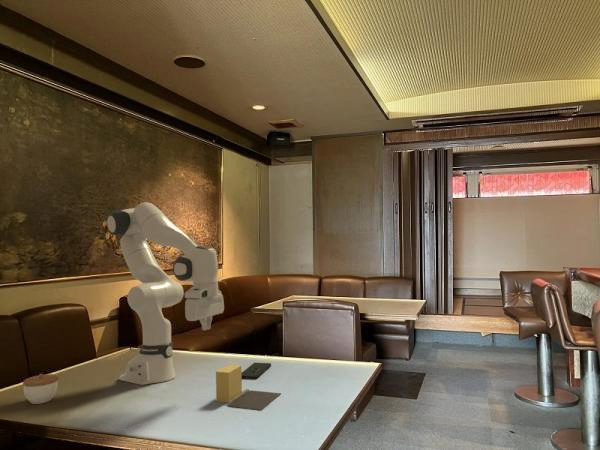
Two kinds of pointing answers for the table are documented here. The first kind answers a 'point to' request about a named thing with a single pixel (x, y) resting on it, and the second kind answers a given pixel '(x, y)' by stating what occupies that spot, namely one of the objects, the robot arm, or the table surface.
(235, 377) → the mustard block
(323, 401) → the table surface
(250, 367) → the smart home device
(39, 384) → the lidded jar
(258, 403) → the topple stop
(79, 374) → the table surface
